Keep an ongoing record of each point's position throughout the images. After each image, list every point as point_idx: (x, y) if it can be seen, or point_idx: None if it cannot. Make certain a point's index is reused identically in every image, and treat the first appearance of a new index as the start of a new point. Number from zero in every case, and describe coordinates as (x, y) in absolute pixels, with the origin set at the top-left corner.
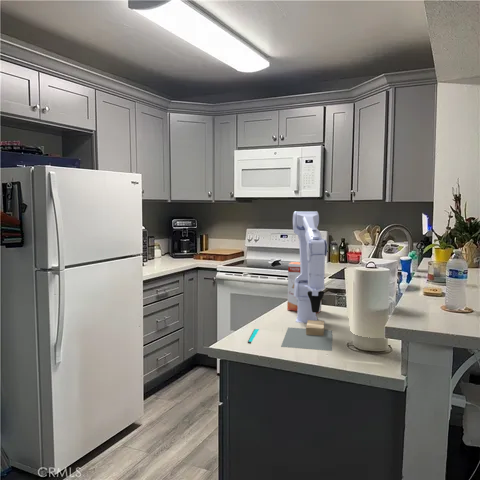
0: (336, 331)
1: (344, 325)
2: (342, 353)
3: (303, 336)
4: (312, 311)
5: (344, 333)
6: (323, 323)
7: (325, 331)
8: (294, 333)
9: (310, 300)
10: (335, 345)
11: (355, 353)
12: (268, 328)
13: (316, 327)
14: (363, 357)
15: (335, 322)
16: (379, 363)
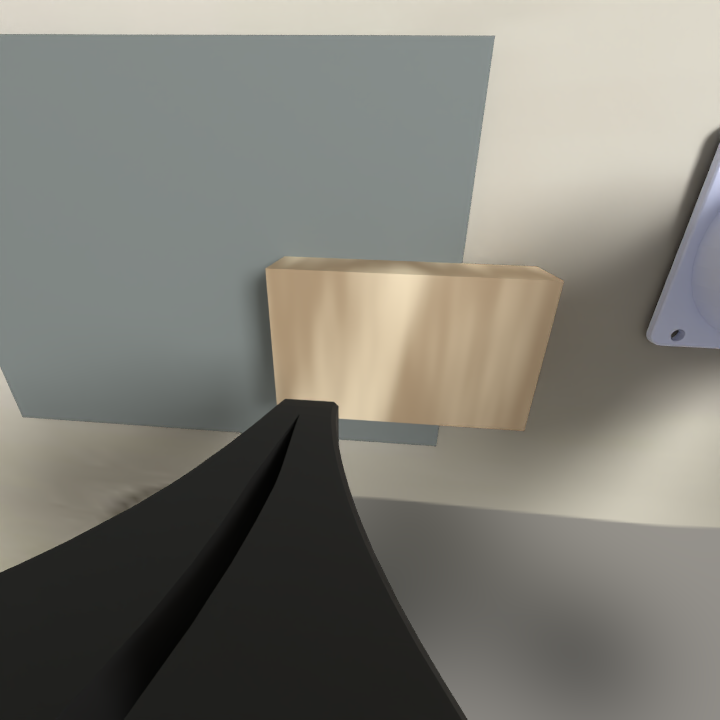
0: (449, 463)
1: (601, 518)
2: (48, 456)
3: (221, 236)
4: (279, 404)
5: (410, 499)
6: (439, 421)
7: None
8: (283, 141)
9: (99, 528)
10: (158, 436)
11: (83, 506)
12: None
13: (295, 362)
14: (50, 526)
15: (692, 476)
16: (17, 563)
